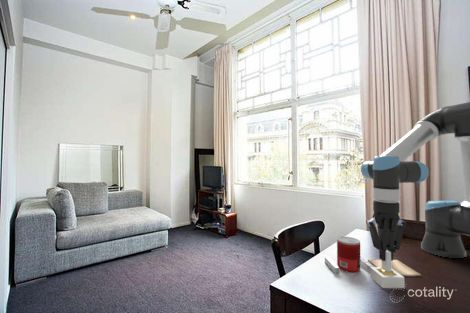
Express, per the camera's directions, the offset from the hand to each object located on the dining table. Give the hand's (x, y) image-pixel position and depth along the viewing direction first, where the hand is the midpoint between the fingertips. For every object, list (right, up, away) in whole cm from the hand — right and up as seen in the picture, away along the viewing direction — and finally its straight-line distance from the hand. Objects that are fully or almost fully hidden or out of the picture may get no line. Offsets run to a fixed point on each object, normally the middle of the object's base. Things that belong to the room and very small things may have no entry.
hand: (386, 269), depth 78 cm
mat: (+9, -4, +10) cm, 14 cm away
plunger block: (0, -4, 0) cm, 4 cm away
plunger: (0, -3, 0) cm, 3 cm away
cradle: (-8, -4, +10) cm, 13 cm away
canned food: (-8, -5, +10) cm, 14 cm away
